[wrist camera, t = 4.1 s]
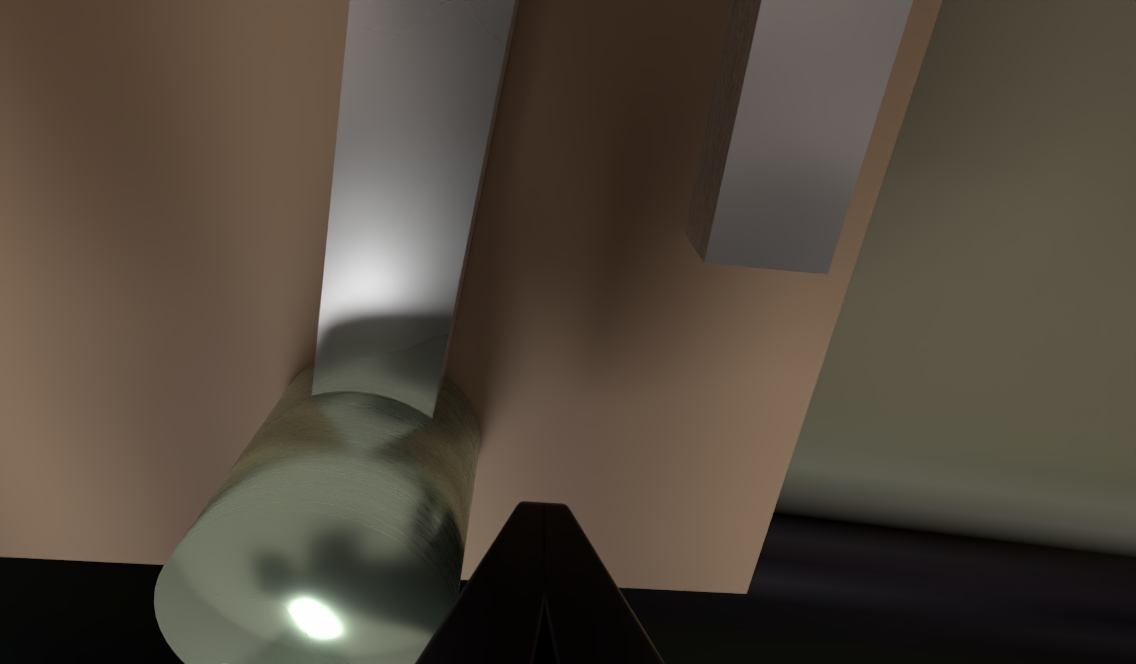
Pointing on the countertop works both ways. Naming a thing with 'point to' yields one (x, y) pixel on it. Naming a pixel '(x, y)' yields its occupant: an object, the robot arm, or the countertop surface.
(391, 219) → the tong arm
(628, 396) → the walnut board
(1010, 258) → the countertop surface
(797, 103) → the base
